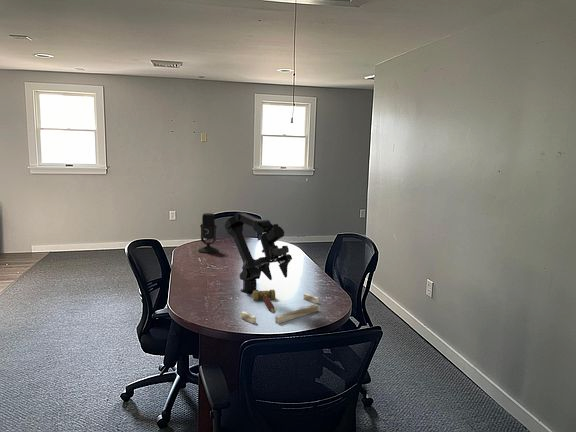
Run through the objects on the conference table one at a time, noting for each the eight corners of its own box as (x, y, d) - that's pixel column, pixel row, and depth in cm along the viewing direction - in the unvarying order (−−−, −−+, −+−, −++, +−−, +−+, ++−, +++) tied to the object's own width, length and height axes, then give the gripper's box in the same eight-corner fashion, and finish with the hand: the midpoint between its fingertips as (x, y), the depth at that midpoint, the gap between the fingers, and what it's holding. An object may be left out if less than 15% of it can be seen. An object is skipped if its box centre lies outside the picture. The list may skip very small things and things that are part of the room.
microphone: (194, 252, 303) (194, 214, 299) (203, 248, 316) (204, 212, 312) (212, 254, 299) (213, 216, 295) (221, 250, 312) (222, 213, 308)
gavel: (284, 305, 197) (261, 307, 194) (284, 315, 198) (261, 317, 195) (273, 288, 217) (252, 289, 214) (273, 297, 218) (252, 298, 215)
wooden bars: (240, 317, 189) (240, 312, 189) (305, 298, 216) (305, 293, 216) (263, 328, 179) (264, 322, 179) (329, 306, 206) (329, 301, 206)
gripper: (263, 240, 198) (274, 275, 194) (294, 238, 211) (305, 270, 207) (248, 249, 205) (258, 283, 201) (279, 246, 218) (289, 278, 214)
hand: (278, 278), depth 205 cm, fingers open, 9 cm apart
